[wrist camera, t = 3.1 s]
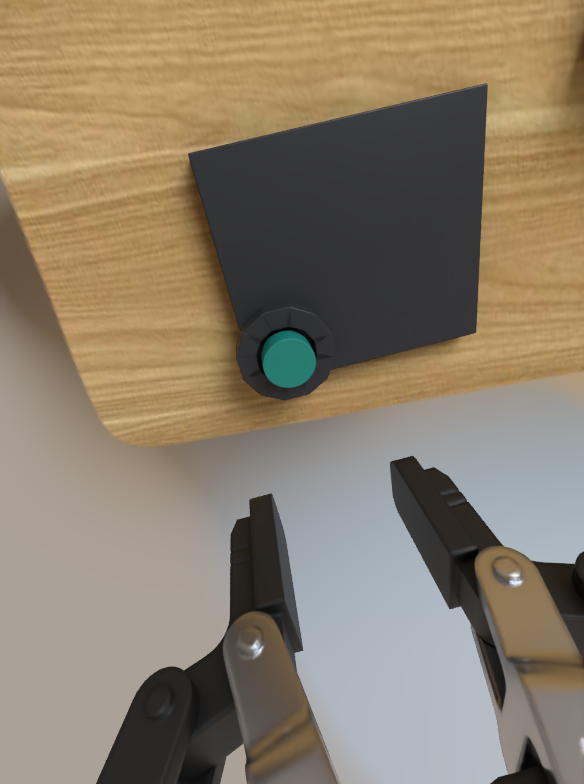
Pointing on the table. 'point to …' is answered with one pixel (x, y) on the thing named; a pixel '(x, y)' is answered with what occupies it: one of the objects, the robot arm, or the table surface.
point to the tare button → (288, 359)
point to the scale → (351, 232)
